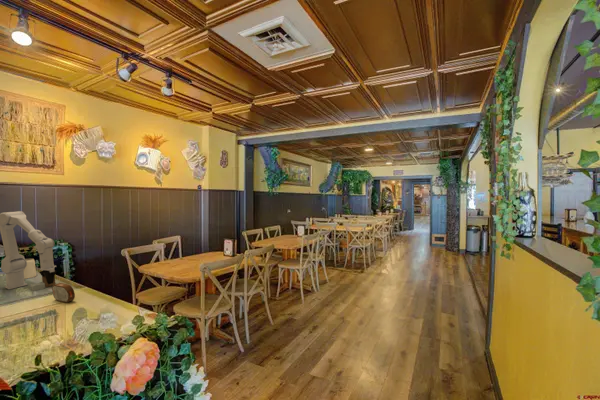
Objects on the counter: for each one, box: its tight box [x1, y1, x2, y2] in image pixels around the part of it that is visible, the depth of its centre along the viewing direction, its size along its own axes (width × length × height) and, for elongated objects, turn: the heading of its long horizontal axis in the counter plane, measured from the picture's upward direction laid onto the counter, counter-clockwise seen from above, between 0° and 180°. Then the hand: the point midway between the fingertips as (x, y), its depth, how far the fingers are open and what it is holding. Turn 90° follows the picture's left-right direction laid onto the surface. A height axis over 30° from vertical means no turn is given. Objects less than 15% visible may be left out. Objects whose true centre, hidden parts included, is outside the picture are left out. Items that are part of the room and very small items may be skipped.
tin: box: [51, 282, 76, 303], centre depth 136 cm, size 15×3×8 cm, turn 65°
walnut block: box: [41, 276, 56, 288], centre depth 162 cm, size 4×4×6 cm
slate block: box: [30, 281, 46, 292], centre depth 157 cm, size 5×5×3 cm
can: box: [24, 257, 37, 280], centre depth 181 cm, size 6×6×12 cm
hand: (48, 282), depth 162 cm, fingers closed on walnut block, 4 cm apart
